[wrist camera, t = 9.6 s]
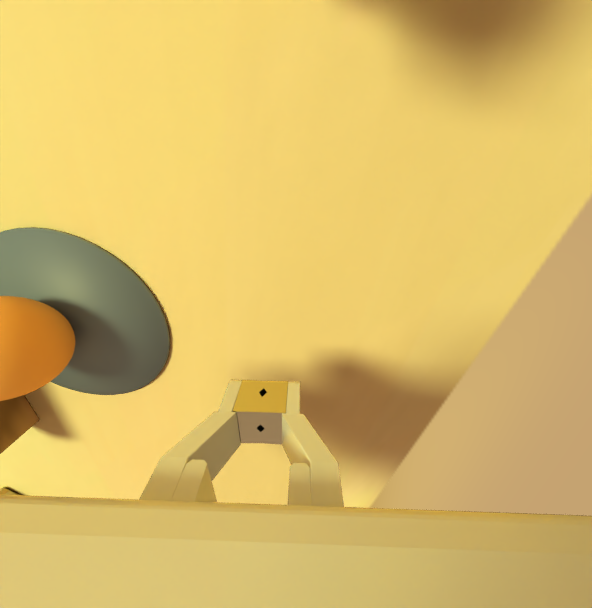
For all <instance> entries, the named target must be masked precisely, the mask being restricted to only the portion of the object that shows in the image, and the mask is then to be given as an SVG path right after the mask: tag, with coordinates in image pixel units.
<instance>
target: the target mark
mask: <svg viewBox="0 0 592 608" xmlns="http://www.w3.org/2000/svg"><path fill="white" fill-rule="evenodd" d="M0 296H15V297H23V298H28V299H32V300H36V301H39V302H42V303H44V304H47V305H49V306H50V307H52V308H54V309H56V310H57V311H59V312H60V313H61V314H62V315H63V316H64V317H65V318H66V319H67V320H68V321H69V323H70V324H71V326H72V328H73V331H74V334H75V349H74V353H73V356H72V358H71V360H70V361H69V363H68V365H67V366H66V367H65V368H64V370H63V371H62V372H61V373H60V374H59V375H58V376H57V377H56V378H54V379H53V380H52V381H50V382H53V383H55V384H57V385H60V386H63V387H65V388H68V389H72V390H75V391H79V392H84V393H90V394H99V395H115V394H124V393H128V392H132V391H135V390H137V389H140V388H142V387H143V386H145V385H147V384H149V383H150V382H151V381H152V380H153V379H155V378H156V376H157V375H158V374H159V373H160V372H161V370H162V369H163V367H164V365H165V363H166V361H167V358H168V355H169V349H170V336H169V329H168V325H167V322H166V319H165V316H164V314H163V311H162V309H161V307H160V305H159V303H158V302H157V300H156V298H155V297H154V295H153V294H152V292H151V291H150V290H149V288H148V287H147V286H146V285H145V283H144V282H143V281H142V280H141V279H140V278H139V277H138V276H137V275H136V274H135V273H134V272H133V271H132V270H131V269H130V268H129V267H128V266H126V265H125V264H124V263H123V262H122V261H120V260H119V259H118V258H116V257H115V256H113V255H112V254H111V253H109V252H108V251H106V250H104V249H102V248H101V247H99V246H97V245H95V244H93V243H91V242H89V241H87V240H85V239H82V238H80V237H77V236H74V235H71V234H68V233H65V232H61V231H57V230H52V229H46V228H35V227H32V228H16V229H11V230H6V231H3V232H0Z"/></svg>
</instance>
